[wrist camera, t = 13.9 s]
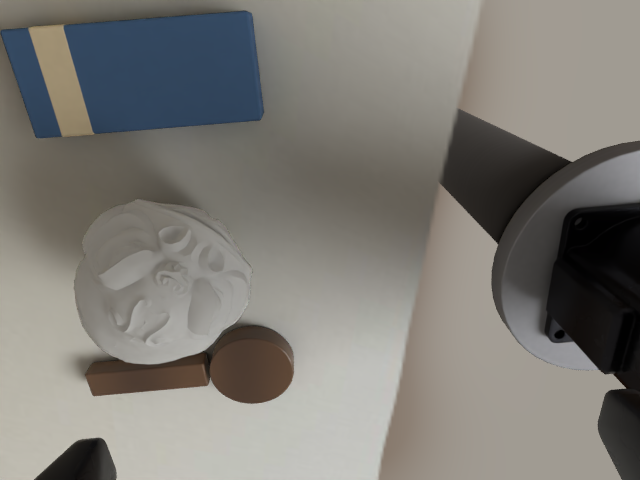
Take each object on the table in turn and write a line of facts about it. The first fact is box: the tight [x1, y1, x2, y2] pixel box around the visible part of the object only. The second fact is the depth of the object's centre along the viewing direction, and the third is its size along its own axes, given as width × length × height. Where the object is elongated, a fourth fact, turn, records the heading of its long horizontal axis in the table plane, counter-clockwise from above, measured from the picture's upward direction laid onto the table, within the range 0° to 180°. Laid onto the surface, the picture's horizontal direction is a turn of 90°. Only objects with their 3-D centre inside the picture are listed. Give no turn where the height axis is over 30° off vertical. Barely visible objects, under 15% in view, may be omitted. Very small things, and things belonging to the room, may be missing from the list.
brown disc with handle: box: [85, 326, 294, 404], centre depth 22 cm, size 10×4×1 cm, turn 94°
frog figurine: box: [74, 199, 253, 364], centre depth 16 cm, size 6×7×7 cm
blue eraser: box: [0, 11, 264, 138], centre depth 16 cm, size 8×4×2 cm, turn 94°
